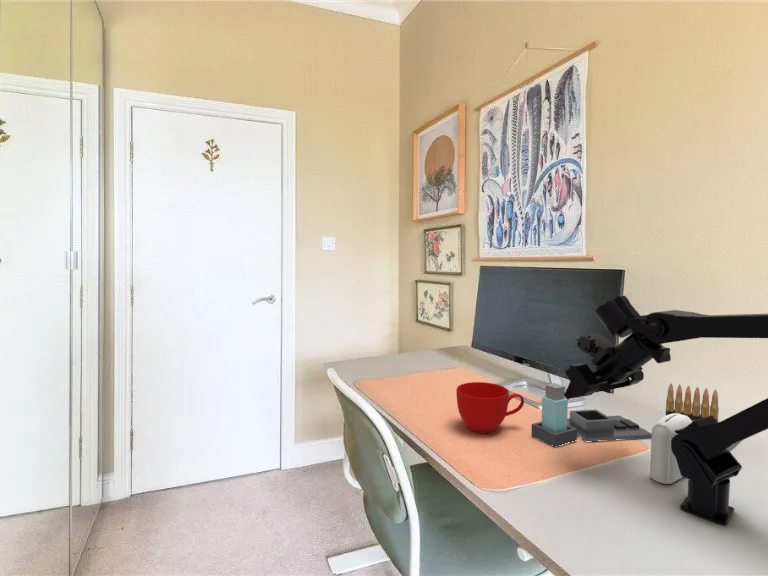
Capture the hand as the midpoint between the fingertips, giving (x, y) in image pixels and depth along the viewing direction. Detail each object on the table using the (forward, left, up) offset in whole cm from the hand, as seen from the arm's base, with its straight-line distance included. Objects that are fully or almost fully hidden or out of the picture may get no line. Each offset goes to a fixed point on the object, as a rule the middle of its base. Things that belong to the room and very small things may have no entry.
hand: (580, 393), depth 98 cm
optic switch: (+16, +1, -13) cm, 20 cm away
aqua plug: (+2, +7, -13) cm, 15 cm away
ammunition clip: (+29, -14, -13) cm, 35 cm away
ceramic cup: (-4, +21, -13) cm, 25 cm away
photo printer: (+3, -17, -13) cm, 22 cm away
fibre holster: (+2, +7, -13) cm, 15 cm away
